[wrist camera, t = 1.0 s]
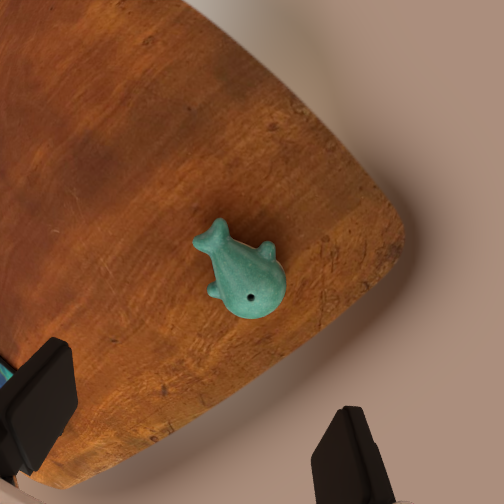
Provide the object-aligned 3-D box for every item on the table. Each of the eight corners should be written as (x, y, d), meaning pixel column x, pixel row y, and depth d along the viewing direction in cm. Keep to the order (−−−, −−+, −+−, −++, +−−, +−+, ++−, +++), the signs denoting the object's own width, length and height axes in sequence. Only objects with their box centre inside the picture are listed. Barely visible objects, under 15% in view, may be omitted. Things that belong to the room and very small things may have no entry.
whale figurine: (240, 319, 25) (237, 346, 21) (178, 247, 23) (164, 264, 19) (302, 277, 23) (309, 299, 20) (241, 198, 22) (237, 206, 18)
